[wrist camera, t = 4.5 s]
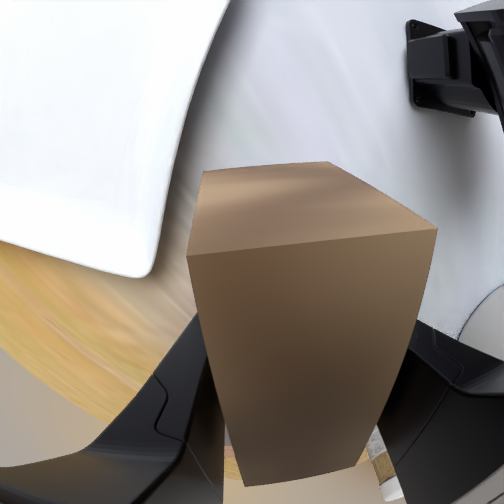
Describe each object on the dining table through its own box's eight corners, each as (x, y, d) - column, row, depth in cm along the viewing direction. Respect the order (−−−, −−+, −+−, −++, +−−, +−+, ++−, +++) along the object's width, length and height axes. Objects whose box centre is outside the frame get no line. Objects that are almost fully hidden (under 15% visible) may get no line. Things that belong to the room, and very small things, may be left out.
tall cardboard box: (366, 160, 8) (488, 223, 4) (332, 417, 14) (358, 495, 10) (158, 177, 8) (93, 266, 4) (220, 434, 14) (226, 518, 9)
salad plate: (159, 261, 21) (150, 288, 18) (-50, 204, 16) (-74, 218, 13) (252, -36, 12) (258, -60, 9) (-2, -33, 7) (-25, -41, 4)
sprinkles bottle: (380, 400, 32) (419, 490, 20) (345, 410, 31) (379, 506, 20) (387, 378, 30) (435, 476, 18) (350, 389, 29) (391, 495, 17)
